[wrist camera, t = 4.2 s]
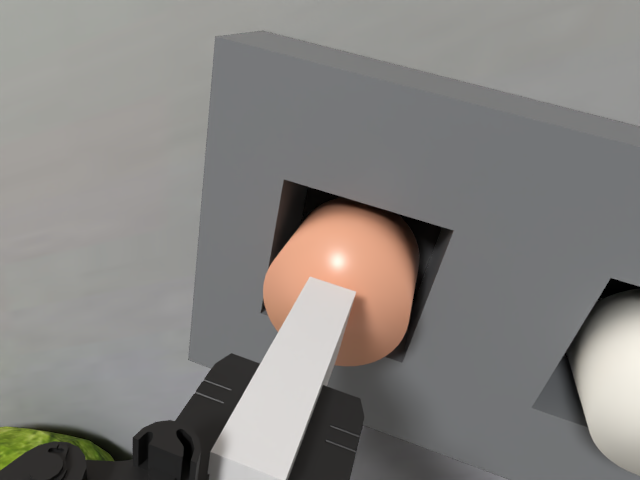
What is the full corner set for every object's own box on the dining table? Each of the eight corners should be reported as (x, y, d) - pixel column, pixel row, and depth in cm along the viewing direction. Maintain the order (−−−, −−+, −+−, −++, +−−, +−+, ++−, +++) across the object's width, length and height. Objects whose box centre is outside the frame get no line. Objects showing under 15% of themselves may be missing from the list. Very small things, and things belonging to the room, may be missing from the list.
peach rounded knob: (436, 219, 17) (430, 267, 14) (398, 323, 20) (385, 385, 16) (308, 180, 18) (274, 218, 15) (287, 286, 20) (254, 338, 17)
